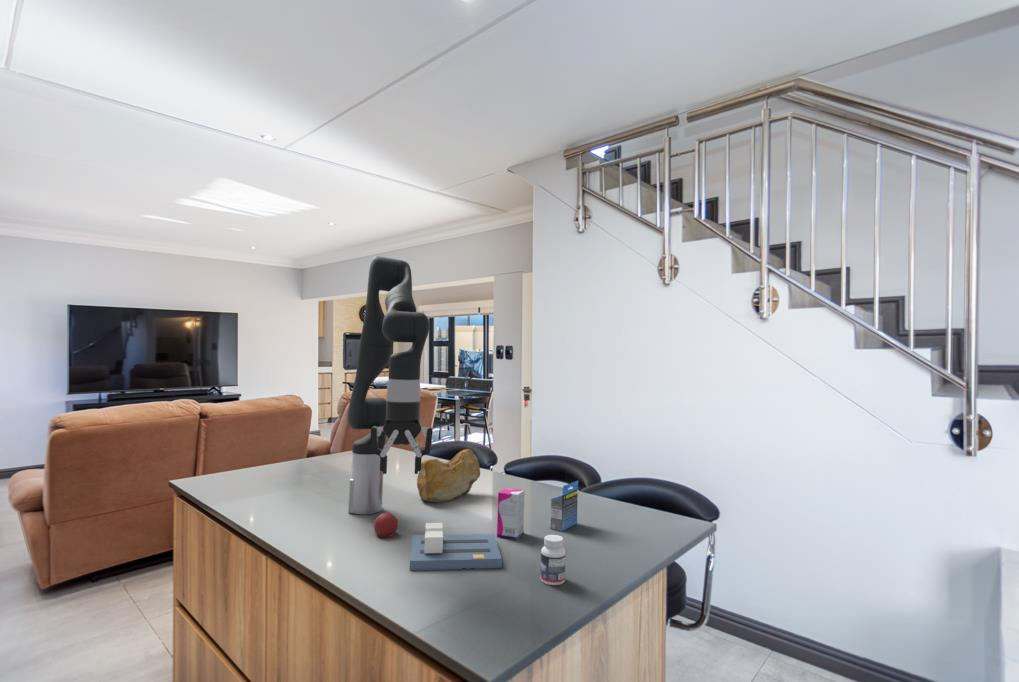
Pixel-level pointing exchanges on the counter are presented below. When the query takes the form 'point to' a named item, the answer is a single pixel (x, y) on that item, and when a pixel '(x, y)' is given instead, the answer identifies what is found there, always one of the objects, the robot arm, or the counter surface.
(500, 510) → the supplement box
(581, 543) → the counter surface
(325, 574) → the counter surface
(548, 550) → the pill bottle
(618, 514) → the counter surface
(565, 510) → the label tape cartridge
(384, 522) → the red bulb syringe
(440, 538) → the near tab
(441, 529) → the far tab
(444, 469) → the stone
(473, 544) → the switch panel
